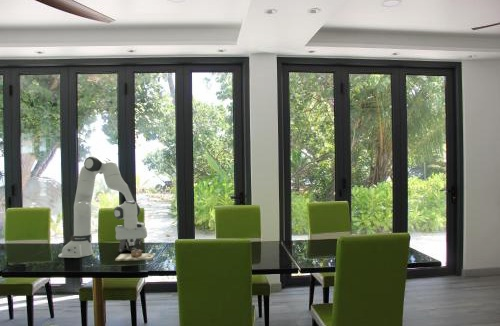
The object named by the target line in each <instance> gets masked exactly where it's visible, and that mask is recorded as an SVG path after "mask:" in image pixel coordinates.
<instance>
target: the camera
mask: <svg viewBox="0 0 500 326" xmlns="http://www.w3.org/2000/svg"><path fill="white" fill-rule="evenodd" d="M133 241H134V240H133V239H130V242H131V243H132V242H133ZM142 244H143V238H139V239H136V240H135V242H134V245H133V246H129V242H128V241H127V239H121V240H119V245H118V252H119V253H120V254H123V252H125V251H130V252H131V251H133V250H142V252H144V251H145V250H144V249H141V246H142ZM135 246H137V247H135Z"/></svg>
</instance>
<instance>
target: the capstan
mask: <svg viewBox="0 0 500 326" xmlns="http://www.w3.org/2000/svg"><path fill="white" fill-rule="evenodd" d="M142 250H143V249H142ZM142 250H133V251H130V252H131V253H130V254H131V256H134V257H136V258H138V257H139V256H141V255H142V253H143V251H142Z"/></svg>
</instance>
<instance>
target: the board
mask: <svg viewBox="0 0 500 326" xmlns="http://www.w3.org/2000/svg"><path fill="white" fill-rule="evenodd" d="M155 257H156V252H149V253H147V252H146V253H143V252H142V255H141V256H139V257H138V258H136V257H134V256H131V253H120V254H119V255H118V256H117V257H116V258H115V260H114V261H115V262H121V261H127V262H128V261H153V259H154V258H155Z"/></svg>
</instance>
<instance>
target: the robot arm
mask: <svg viewBox="0 0 500 326" xmlns="http://www.w3.org/2000/svg"><path fill="white" fill-rule="evenodd" d="M98 174H100V175H103V178H104V181H105V182H104V183H105V185H106V187H108V188H109V189H110V190H113V191H117V192H119V193H121V194H122V195H123V196H124V198H125V201H124V202H123V203H121V204H119V205H117V206H116V207H114V209H113V216H114V218H115V219H116V220H123V224H122V225H121V224H120V225H116V226H115V228H114V229H115V230H114V231H115V239H116V240H119V241H120V240H121V239H127V241H128V242H129V246H131V247H132V246H133V247H134V246H135V245H134V242H135V240H136V239H139V238H142V239H147V237H148V231H147V228H146V227H145V226H146V225H145V222H142V221H138V220H139V219H138V217H139V215H140V214H141V208H140V206H139V204H138V203H137V201H136V199H135V196H134V195H133V192H132V190H131V188H130V185H129V184H128V183H127V182H125V180H124V178H123V177H122V175H121V172H120V169H119V166H118V164H117V163H116V162H115V161H111V160H110V159H109V158H106V157H102V156H88V157H87V158H85V159H84V162H83V166H82V167H81V169H80V171H79V175H78V180H77V185H76V186H77V187H76V192H75V197H74V203H73V235H71V237H70V241H69V242H67V243H66V244H65V245H64V246H63V247H62V249H61V253H59V254H58V258H69V259H71V258H74V259H77V258H78V259H79V258H83V257H88V256H92V255H94V251H93V245H92V240H93V239H92V233H91V232H92V228H91V227H92V226H91V225H92V200H93V194H94V189H95V183H96V177H97V175H98ZM130 239H133V240H134V241H133V242H132V243H131V242H130Z"/></svg>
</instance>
